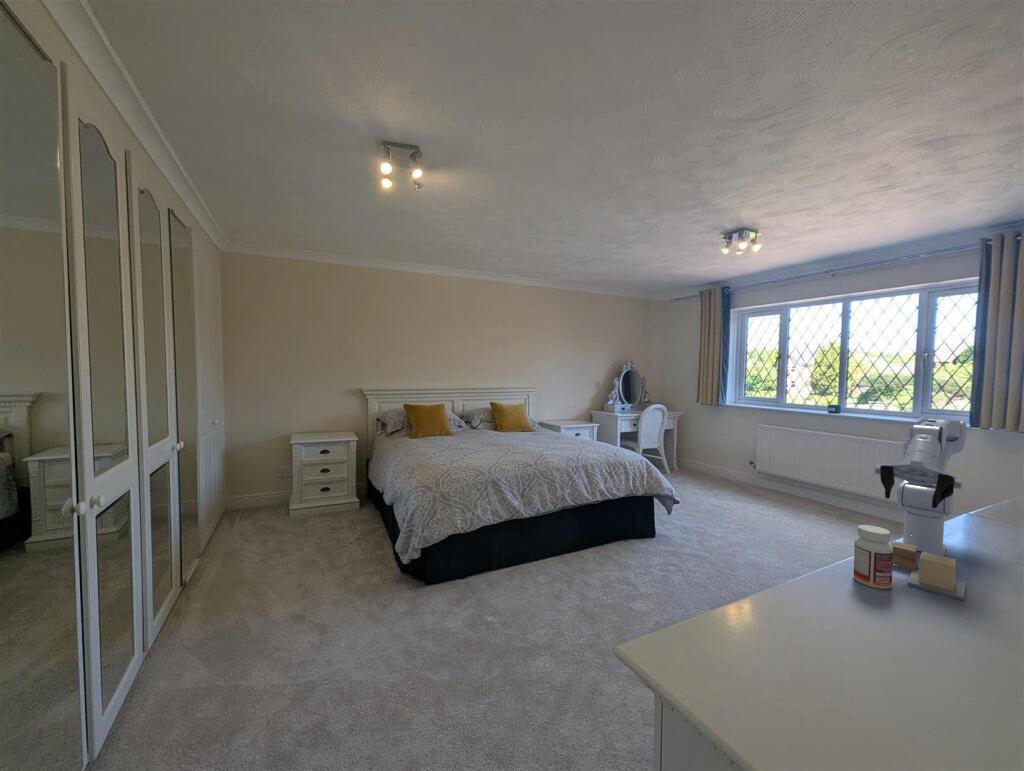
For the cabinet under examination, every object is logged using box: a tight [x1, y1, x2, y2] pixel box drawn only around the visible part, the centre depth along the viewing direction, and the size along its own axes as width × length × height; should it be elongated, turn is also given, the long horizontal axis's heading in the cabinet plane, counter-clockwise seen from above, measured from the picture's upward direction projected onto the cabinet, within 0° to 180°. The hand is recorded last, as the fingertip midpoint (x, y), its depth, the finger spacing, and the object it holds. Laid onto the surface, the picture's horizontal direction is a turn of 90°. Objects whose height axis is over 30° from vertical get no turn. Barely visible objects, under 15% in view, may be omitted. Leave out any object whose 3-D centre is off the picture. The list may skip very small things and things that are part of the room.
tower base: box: [906, 551, 967, 601], centre depth 88 cm, size 9×8×6 cm
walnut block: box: [889, 540, 918, 571], centre depth 97 cm, size 4×4×4 cm
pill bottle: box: [853, 524, 894, 590], centre depth 88 cm, size 6×6×11 cm
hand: (909, 499), depth 94 cm, fingers open, 7 cm apart
